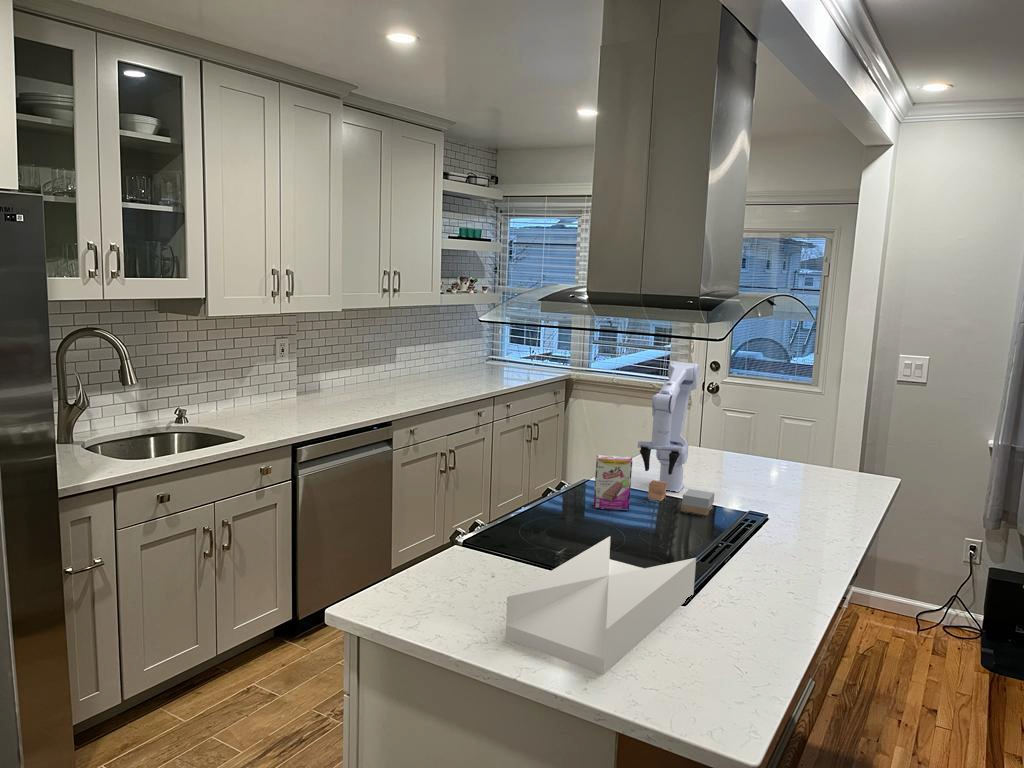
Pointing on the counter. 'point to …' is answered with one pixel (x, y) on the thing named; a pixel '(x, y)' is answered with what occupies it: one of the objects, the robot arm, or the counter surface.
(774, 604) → the counter surface
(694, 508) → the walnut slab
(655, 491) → the terracotta block
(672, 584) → the white zigzag wedge
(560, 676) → the counter surface
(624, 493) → the candy bar box
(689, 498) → the slate slab
